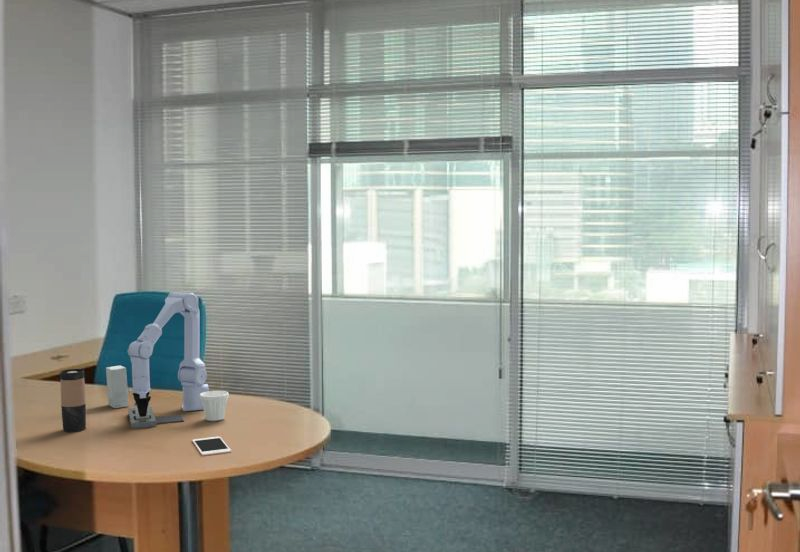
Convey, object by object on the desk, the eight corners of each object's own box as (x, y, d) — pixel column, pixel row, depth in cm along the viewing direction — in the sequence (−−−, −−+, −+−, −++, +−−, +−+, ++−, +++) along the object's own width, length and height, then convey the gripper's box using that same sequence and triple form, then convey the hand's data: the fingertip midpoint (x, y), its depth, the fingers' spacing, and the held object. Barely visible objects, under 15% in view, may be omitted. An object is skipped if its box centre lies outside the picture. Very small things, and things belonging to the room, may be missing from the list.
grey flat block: (151, 412, 302) (151, 406, 302) (156, 426, 282) (156, 420, 282) (128, 414, 299) (128, 408, 299) (131, 429, 279) (131, 423, 279)
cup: (222, 423, 285) (221, 397, 284) (195, 422, 287) (194, 396, 286) (233, 416, 294) (233, 391, 294) (207, 415, 296) (206, 390, 296)
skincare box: (129, 406, 311) (127, 367, 310) (112, 409, 308) (111, 369, 307) (123, 402, 318) (121, 364, 317) (106, 404, 315) (105, 366, 314)
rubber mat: (180, 415, 297) (180, 414, 297) (183, 421, 288) (183, 420, 288) (154, 418, 294) (154, 417, 293) (156, 424, 285) (156, 422, 285)
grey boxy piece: (149, 420, 290) (149, 400, 290) (151, 423, 285) (150, 403, 285) (134, 421, 288) (133, 402, 288) (135, 425, 283) (134, 405, 283)
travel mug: (91, 427, 281) (89, 369, 280) (75, 433, 274) (73, 373, 273) (73, 425, 284) (70, 368, 282) (57, 431, 277) (54, 372, 275)
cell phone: (202, 457, 247) (202, 454, 247) (192, 442, 263) (191, 439, 263) (231, 453, 250) (231, 450, 250) (219, 439, 267) (219, 436, 267)
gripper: (127, 373, 291) (129, 411, 292) (129, 380, 277) (131, 420, 278) (148, 371, 293) (150, 409, 294) (151, 379, 280) (153, 418, 281)
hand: (142, 414), depth 287 cm, fingers closed on grey boxy piece, 5 cm apart
